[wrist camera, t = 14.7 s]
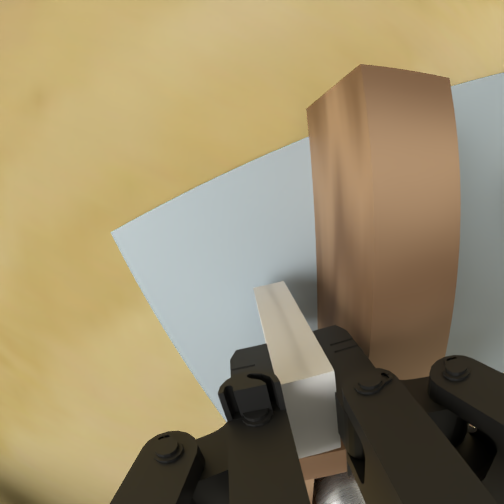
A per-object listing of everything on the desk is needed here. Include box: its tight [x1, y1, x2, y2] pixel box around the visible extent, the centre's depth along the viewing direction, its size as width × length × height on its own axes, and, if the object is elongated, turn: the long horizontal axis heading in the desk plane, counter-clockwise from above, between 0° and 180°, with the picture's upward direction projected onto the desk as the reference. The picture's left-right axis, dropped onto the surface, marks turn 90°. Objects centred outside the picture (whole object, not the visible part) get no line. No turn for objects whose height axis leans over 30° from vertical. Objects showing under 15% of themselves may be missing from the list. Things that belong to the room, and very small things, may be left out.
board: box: [111, 73, 504, 422], centre depth 16 cm, size 26×20×1 cm
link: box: [299, 64, 473, 504], centre depth 12 cm, size 21×9×6 cm, turn 5°
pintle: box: [313, 472, 366, 504], centre depth 13 cm, size 3×3×8 cm
